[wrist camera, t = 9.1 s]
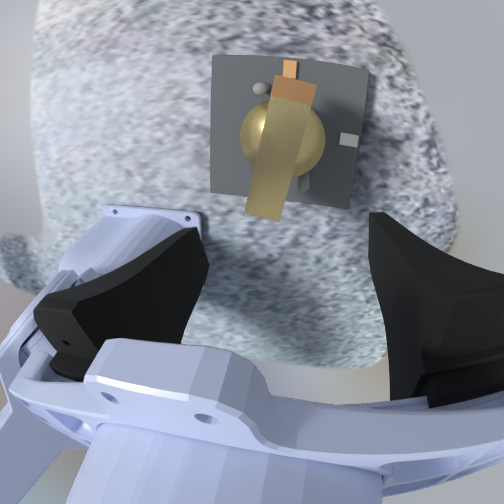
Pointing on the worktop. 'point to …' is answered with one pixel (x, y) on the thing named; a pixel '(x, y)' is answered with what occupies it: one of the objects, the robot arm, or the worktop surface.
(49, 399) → the robot arm
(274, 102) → the lever handle
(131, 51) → the worktop surface
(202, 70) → the worktop surface
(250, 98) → the post base
